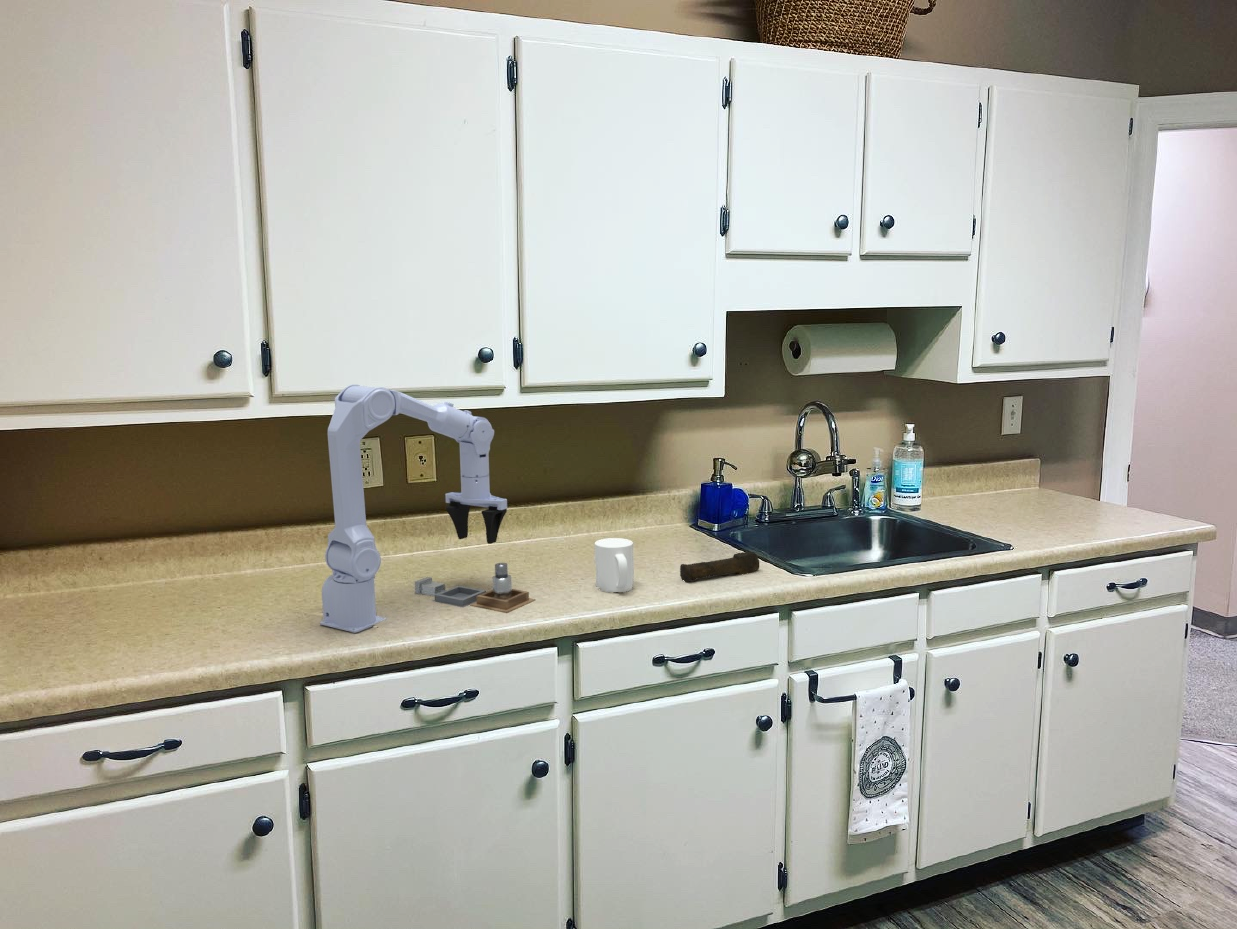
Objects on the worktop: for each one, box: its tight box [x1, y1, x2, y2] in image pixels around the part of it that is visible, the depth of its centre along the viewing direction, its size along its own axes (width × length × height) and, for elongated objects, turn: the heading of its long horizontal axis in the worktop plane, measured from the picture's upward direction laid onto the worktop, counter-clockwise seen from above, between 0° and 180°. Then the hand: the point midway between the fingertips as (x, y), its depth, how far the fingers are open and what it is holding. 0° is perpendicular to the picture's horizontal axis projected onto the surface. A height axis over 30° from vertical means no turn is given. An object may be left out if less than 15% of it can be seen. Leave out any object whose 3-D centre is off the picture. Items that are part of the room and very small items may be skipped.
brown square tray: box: [469, 588, 536, 614], centre depth 187 cm, size 9×9×2 cm
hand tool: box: [679, 551, 760, 583], centre depth 205 cm, size 19×4×5 cm, turn 113°
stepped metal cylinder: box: [491, 562, 513, 600], centre depth 186 cm, size 4×4×8 cm
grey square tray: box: [432, 584, 487, 608], centre depth 190 cm, size 8×8×2 cm
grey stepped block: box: [414, 576, 446, 598], centre depth 193 cm, size 5×4×3 cm
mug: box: [594, 537, 635, 593], centre depth 197 cm, size 12×9×8 cm
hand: (477, 540), depth 196 cm, fingers open, 7 cm apart
